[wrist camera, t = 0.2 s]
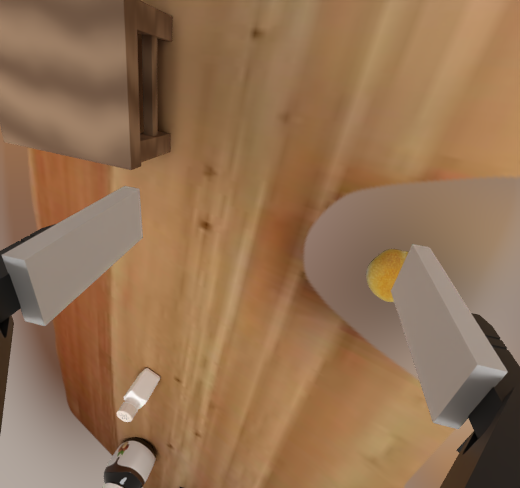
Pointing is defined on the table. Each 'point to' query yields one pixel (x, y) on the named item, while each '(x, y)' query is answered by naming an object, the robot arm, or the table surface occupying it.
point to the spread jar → (130, 465)
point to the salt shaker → (138, 394)
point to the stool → (81, 78)
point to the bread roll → (385, 272)
